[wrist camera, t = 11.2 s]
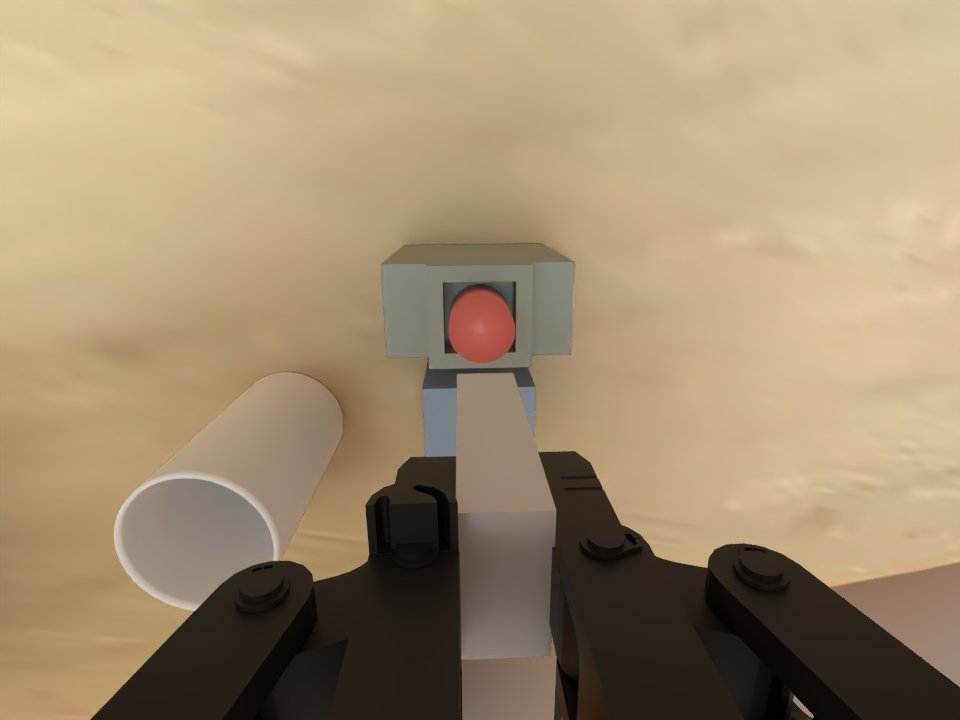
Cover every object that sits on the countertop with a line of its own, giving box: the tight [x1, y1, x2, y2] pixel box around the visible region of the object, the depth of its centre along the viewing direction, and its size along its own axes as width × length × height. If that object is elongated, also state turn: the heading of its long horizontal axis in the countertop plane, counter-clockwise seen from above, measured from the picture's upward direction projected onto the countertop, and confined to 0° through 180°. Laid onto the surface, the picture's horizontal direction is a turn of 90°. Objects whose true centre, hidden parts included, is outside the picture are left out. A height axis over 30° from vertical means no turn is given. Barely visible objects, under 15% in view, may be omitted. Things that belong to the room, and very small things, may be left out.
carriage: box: [422, 359, 535, 457], centre depth 36 cm, size 6×7×11 cm
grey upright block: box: [381, 243, 575, 369], centre depth 33 cm, size 11×5×14 cm, turn 90°
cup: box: [114, 372, 343, 611], centre depth 35 cm, size 8×8×16 cm
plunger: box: [448, 284, 515, 363], centre depth 26 cm, size 3×3×4 cm
